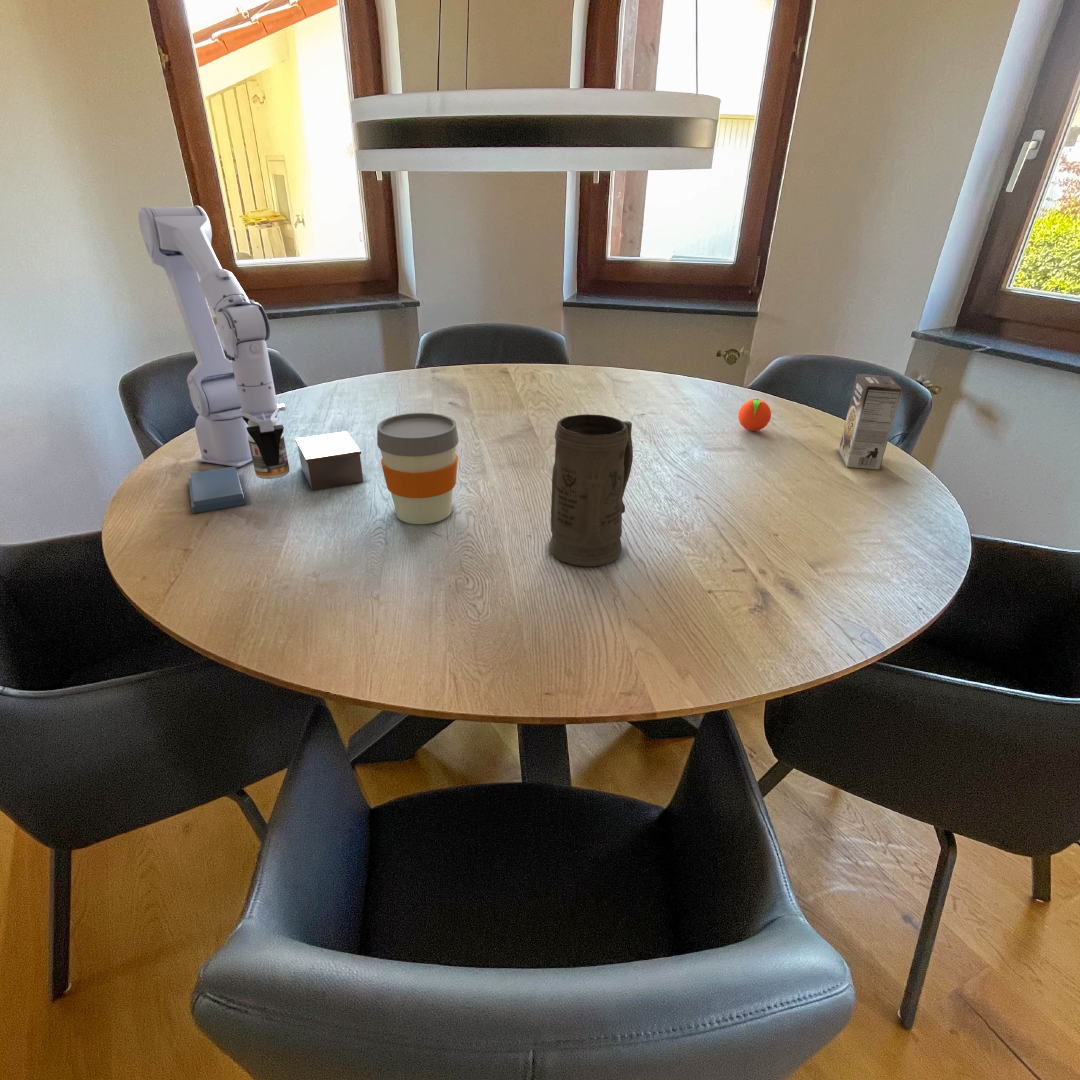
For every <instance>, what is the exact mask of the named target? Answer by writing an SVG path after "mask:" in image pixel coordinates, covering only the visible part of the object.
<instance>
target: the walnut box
mask: <svg viewBox="0 0 1080 1080" xmlns="http://www.w3.org/2000/svg"><path fill="white" fill-rule="evenodd" d="M294 439H295V443H296V445H297V450H298V456H299V462H300V467H301V468H300V469H301V471H302V473H303V474H304V476H305V479H306V481H307V483H308V485H309V486H310V489H311V491H317V490H324V489H330V488H337V487H341V486H349V485H353V484H359V483H363V482H364V475H363V466H362V461H361V455H362V451H361V449H360V447H359V446H358V445H357V444H356V442H355V441H354V439H353V438H352V437H351V435H350V434H349V433H348V431H340V432H333V433H326V434H319V435H311V436H306V437H305V436H304V437H297V438H294Z"/></svg>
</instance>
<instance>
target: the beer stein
mask: <svg viewBox="0 0 1080 1080" xmlns="http://www.w3.org/2000/svg"><path fill="white" fill-rule="evenodd" d="M632 429H633V423H632V422H631V421H628V420H625V421H623V420H621V419H618V418H616V417H614V416H609V415H602V414H589V413H584V414H575V415H568V416H565V417H563V418H560V419H559V420H558V421H557V423H556V427H555V432H554V439H555V449H554V463H553V465H552V473H551V499H550V503H551V504H550V532H551V537H550V541H549V550H550V553H551V554H552V555H553V557H555V558H556V559H557V560H559V561H561V562H563V563H566V564H570V565H573V566H578V567H598V566H603V565H607V564H610V563H612V562H614V561H616V560H617V559H618V558H619V557H620V556H621V554H622V548H623V547H622V540H621V537H622V534H623V517H622V516H623V514H625V512H626V505H625V503H624V501H623V499H624V495H625V492H626V488H627V484H628V482H629V478H630V475H631V471H632V466H633V460H634V448H633V447H634V446H633V439H632V438H633V437H632Z"/></svg>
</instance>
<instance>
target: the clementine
mask: <svg viewBox="0 0 1080 1080" xmlns="http://www.w3.org/2000/svg"><path fill="white" fill-rule="evenodd" d="M737 414H738V415H737V418H738V422H739V424H740V426H741V427H743V429H745V430H747V431H750V432H757V431H760V430H763V429H764V428H766V426H768V425H769V423H770V420H771V418H772V410H771V407H770V405H769V404H768V403H767V402H766V401H764V400H763V399H759V398H757V399H756V398H753V399H749V400H747V401H746V402H744V403H743V404H742V405H741V406H740V408H739V410H738V413H737Z"/></svg>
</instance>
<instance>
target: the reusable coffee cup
mask: <svg viewBox="0 0 1080 1080" xmlns="http://www.w3.org/2000/svg"><path fill="white" fill-rule="evenodd" d="M456 422H457V421H455V419H453V418H452V417H450V416H447V415H444V414H440V413H434V412H409V413H401V414H396V415H393V416H389V417H387V418H384V419H383V420H381V421H379V423H378V424H377V427H376V445H377V448H378V449H379V450H380V454H381V460H380V465H381V468H382V472H383V476H384V480H385V484H386V489H387V490H388V491H389V492H390V493H391V498H392V502H393V506H394V510H395V513H396V517H397V518H398V519H399V520H400V521H402V522H404V523H407V524H412V525H429V524H433V523H435V524H436V523H438V522H441V521H444V520H445V519H446V518H448V517H449V516H450V515H451V514H452V513H451V512H452V507H453V506H452V505H453V492H454V488H455V487H456V484H457V473H458V461H459V456H458V454H457V445H458V444H459V442H460V441H459V435H458V429H457V423H456Z"/></svg>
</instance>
